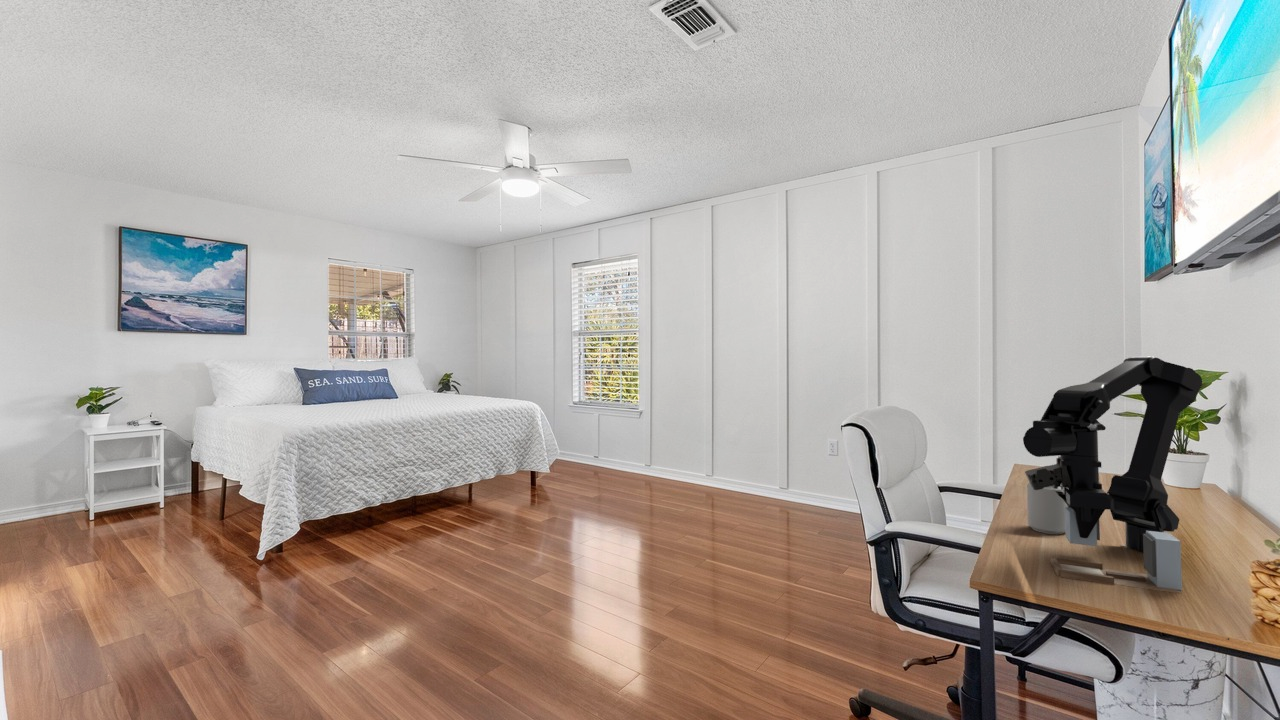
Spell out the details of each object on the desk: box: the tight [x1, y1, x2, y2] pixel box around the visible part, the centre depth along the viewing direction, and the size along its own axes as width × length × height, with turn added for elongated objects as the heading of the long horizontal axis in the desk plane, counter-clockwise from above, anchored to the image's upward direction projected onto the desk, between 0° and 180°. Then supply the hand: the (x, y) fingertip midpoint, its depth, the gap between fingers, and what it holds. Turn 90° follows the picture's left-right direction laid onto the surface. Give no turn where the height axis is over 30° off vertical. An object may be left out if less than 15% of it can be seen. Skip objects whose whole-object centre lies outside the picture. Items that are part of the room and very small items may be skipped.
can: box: [1026, 481, 1068, 535], centre depth 126 cm, size 8×8×12 cm
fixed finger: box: [1142, 531, 1183, 591], centre depth 92 cm, size 5×4×8 cm
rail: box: [1049, 556, 1182, 594], centre depth 95 cm, size 8×16×2 cm, turn 61°
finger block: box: [1065, 507, 1101, 547], centre depth 105 cm, size 4×4×6 cm
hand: (1081, 534), depth 105 cm, fingers closed on finger block, 4 cm apart
